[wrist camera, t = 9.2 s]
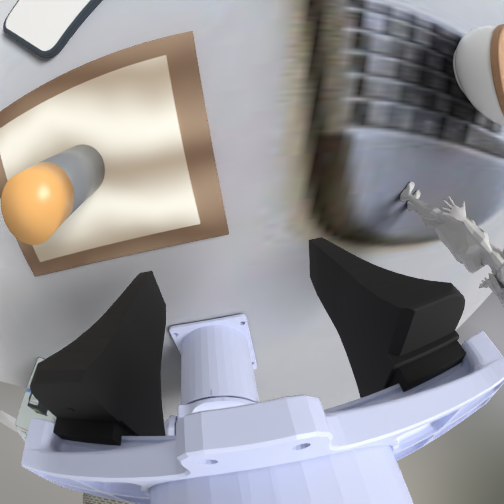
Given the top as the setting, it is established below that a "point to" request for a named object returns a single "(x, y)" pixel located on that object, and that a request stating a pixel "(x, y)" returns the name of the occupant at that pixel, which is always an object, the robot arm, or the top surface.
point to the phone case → (47, 23)
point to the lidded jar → (482, 70)
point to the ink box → (31, 410)
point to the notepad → (123, 153)
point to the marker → (50, 192)
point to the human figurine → (461, 238)
